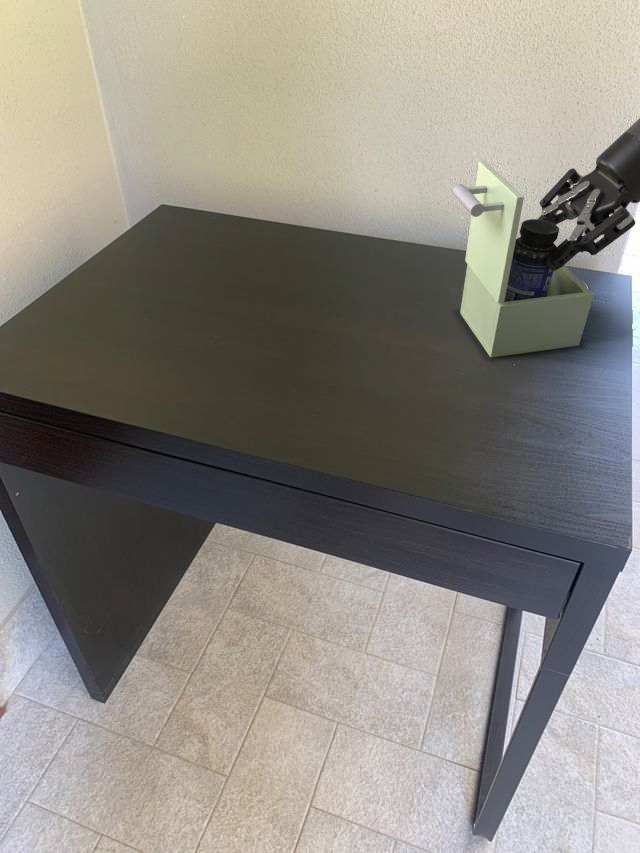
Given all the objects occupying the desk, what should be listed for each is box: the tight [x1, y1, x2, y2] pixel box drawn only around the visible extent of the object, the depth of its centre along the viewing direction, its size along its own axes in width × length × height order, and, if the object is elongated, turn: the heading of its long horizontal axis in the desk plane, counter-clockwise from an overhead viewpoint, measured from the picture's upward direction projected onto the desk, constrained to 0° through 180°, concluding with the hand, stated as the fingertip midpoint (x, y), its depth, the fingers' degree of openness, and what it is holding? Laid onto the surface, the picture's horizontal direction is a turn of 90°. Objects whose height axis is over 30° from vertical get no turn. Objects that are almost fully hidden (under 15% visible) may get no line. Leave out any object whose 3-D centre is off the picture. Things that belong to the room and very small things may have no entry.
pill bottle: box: [504, 218, 560, 302], centre depth 89 cm, size 6×6×11 cm
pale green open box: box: [459, 263, 595, 358], centre depth 93 cm, size 13×11×8 cm
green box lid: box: [452, 160, 525, 303], centre depth 85 cm, size 14×11×5 cm
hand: (536, 253), depth 88 cm, fingers closed on pill bottle, 6 cm apart
